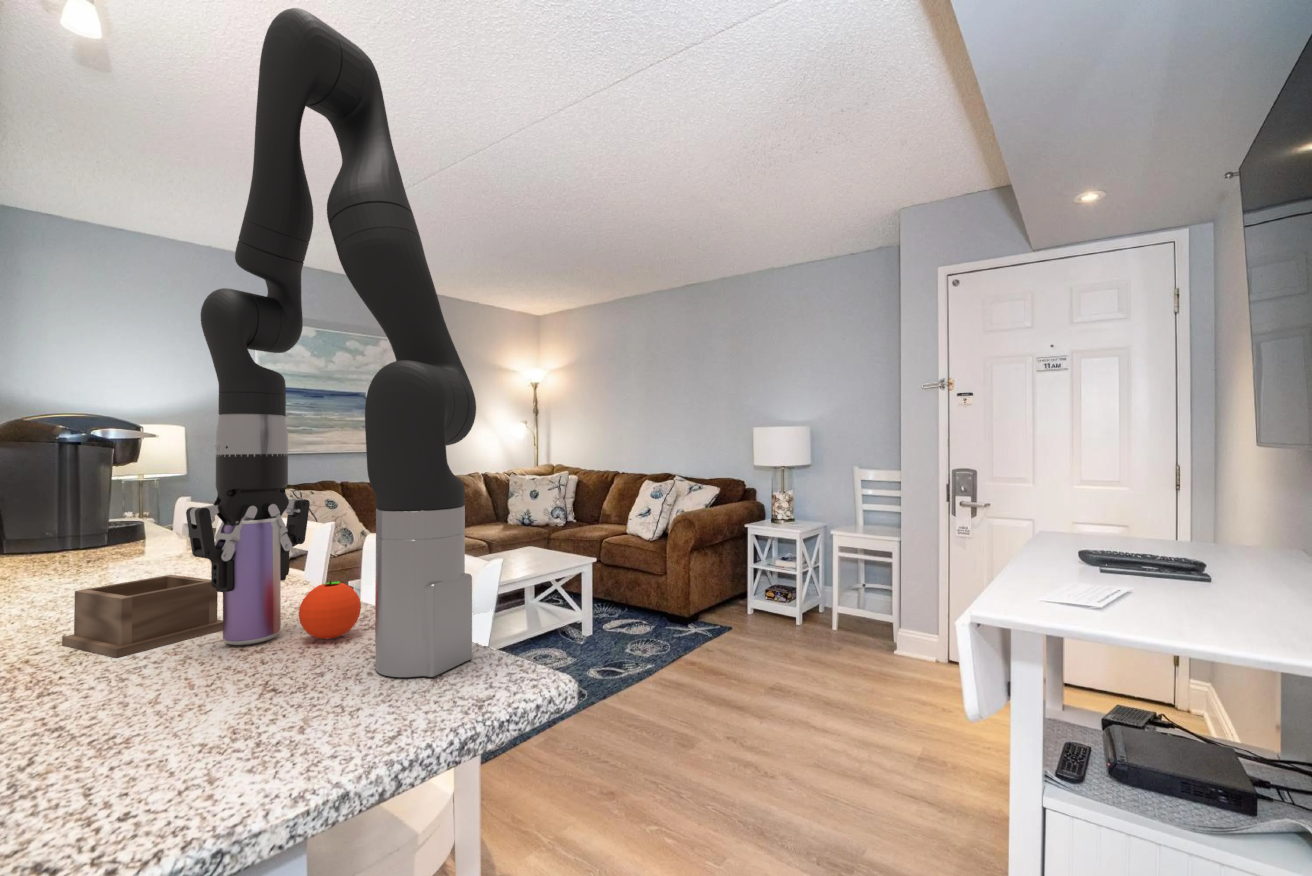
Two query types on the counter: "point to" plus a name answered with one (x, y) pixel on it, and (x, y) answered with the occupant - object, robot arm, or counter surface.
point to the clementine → (329, 610)
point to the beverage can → (254, 584)
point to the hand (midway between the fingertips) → (252, 585)
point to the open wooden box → (143, 615)
